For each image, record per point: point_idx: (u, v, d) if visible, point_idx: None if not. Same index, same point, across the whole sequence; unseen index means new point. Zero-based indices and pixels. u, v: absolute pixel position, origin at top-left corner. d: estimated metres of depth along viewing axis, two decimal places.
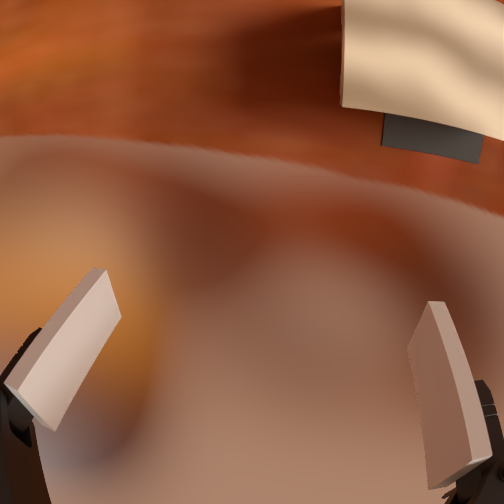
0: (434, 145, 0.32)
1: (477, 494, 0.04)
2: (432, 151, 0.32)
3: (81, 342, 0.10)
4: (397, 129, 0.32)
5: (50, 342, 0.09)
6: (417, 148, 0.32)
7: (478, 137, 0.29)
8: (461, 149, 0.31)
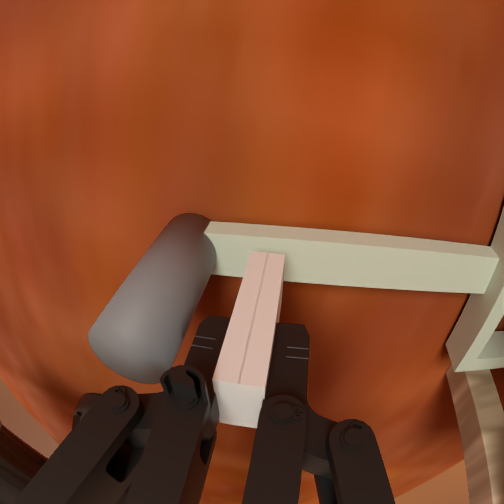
0: None
1: (253, 445, 0.07)
2: None
3: None
4: None
5: (252, 326, 0.10)
6: None
7: None
8: None
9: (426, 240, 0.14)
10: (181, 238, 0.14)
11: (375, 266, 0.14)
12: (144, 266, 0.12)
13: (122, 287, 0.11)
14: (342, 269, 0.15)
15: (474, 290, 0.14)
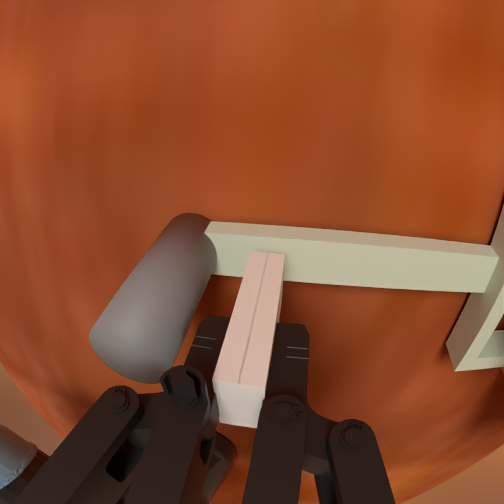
0: None
1: (254, 445, 0.07)
2: None
3: None
4: None
5: (252, 326, 0.10)
6: None
7: None
8: None
9: (426, 239, 0.14)
10: (181, 238, 0.14)
11: (375, 265, 0.14)
12: (144, 265, 0.12)
13: (123, 287, 0.11)
14: (342, 269, 0.15)
15: (474, 289, 0.14)
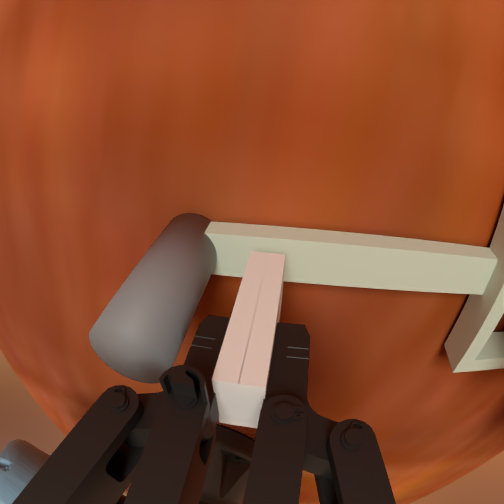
0: None
1: (254, 446, 0.07)
2: None
3: None
4: None
5: (252, 326, 0.10)
6: None
7: None
8: None
9: (425, 241, 0.14)
10: (182, 238, 0.14)
11: (375, 266, 0.14)
12: (144, 265, 0.12)
13: (123, 287, 0.11)
14: (342, 270, 0.15)
15: (473, 291, 0.14)
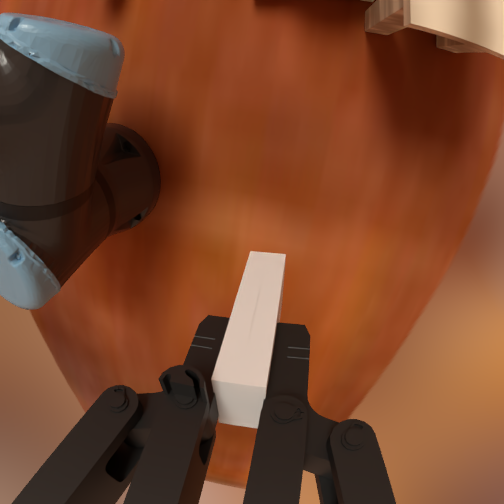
0: None
1: (254, 445, 0.07)
2: None
3: None
4: None
5: (251, 326, 0.10)
6: None
7: None
8: None
9: None
10: None
11: None
12: None
13: None
14: None
15: None
